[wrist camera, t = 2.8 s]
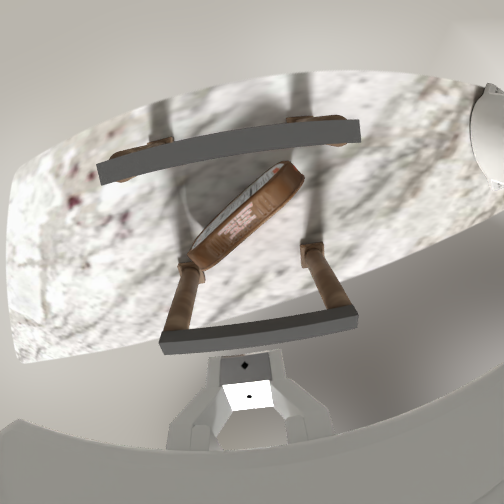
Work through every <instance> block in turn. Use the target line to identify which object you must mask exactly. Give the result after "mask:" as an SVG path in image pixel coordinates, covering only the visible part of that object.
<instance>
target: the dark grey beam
mask: <svg viewBox="0 0 504 504" xmlns="http://www.w3.org/2000/svg"><path fill="white" fill-rule="evenodd" d="M358 316H359V315H358V313H357V311H356V309H355V308H354V306H353V305H347V306H343V307H338V308H332V309H327V310H322V311H317V312H312V313H306V314H300V315H294V316H288V317H282V318H276V319H269V320H262V321H256V322H248V323H240V324H232V325H224V326H216V327H206V328H197V329H186V330H175V331H163V332H162V333H161V337H160V340H159V345H160V347H161V349H162V351H163V353H164V355H172V354H186V353H187V354H188V353H200V352H211V351H221V350H231V349H239V348H248V347H255V346H263V345H270V344H277V343H283V342H289V341H295V340H301V339H307V338H312V337H317V336H322V335H327V334H332V333H337V332H342V331H346V330H351V329H355V328H357V325H358Z"/></svg>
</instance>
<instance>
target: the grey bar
mask: <svg viewBox="0 0 504 504" xmlns="http://www.w3.org/2000/svg"><path fill="white" fill-rule="evenodd" d="M340 143H361V134H360V124H359V120H325V121H308V122H295V123H285V124H275V125H266V126H258V127H251V128H244V129H237V130H231V131H225V132H219V133H214V134H209V135H203V136H198V137H194V138H189V139H184V140H180V141H176V142H171V143H167V144H163V145H159V146H155V147H151V148H148V149H144V150H140V151H137V152H133V153H130V154H126V155H123V156H120V157H117V158H114V159H110V160H107V161H104V162H101V163H98V164H96V166H97V170H98V174H99V178H100V182H101V186H102V185H105V184H109V183H112V182H116V181H119V180H123V179H126V178H130V177H134V176H137V175H141V174H145V173H149V172H153V171H157V170H162V169H166V168H170V167H175V166H179V165H184V164H189V163H194V162H199V161H204V160H209V159H214V158H220V157H226V156H232V155H238V154H244V153H251V152H258V151H266V150H274V149H282V148H291V147H301V146H312V145H324V144H340Z"/></svg>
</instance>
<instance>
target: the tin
mask: <svg viewBox="0 0 504 504" xmlns="http://www.w3.org/2000/svg"><path fill="white" fill-rule="evenodd" d="M304 179H305V176H304V175H303V174H301V173H300V172H299V171H298V170H297V168H296V167H295V166H294V165H293V164H292V163H291V162H290V161H281V162H279V163H277V164H276V165H274V166H273V167H272V168H270V169H269V170H268V171H266V172H265V173H264V174H263V175H262V176H260V177H259V178H258V179H257V180H256V181H255V182H254V183H252V184H251V185H250V186H249V187H248V188H247V189H246V190H244V191H243V192H242V193H241V194H240V195H239V196H238V197H236V198H235V199H234V200H233V201H232V202H231V203H230V204H229V205H228V206H227V207H226V208H225V209H224V210H223V211H222V212H220V213H219V214H218V215H217V216H216V217H215V218H214V219H213V220H212V221H211V222H210V223H209V224H208V225H207V227H206V228H205V229H204V230H203V231H202V232H201V233H200V234H199V235H198V237H197V238H196V239H195V241H194V242H193V245H192V247H191V249H190V251H189V252H188V253H187V255H188V257H189V258H190V259H191V260H192V261H193V262H194V263H195V264H196V265H197V266H199V267H200V269H201V270H202V271H206V270H208V269H210V268H212V267H213V266H215V265H216V264H217V263H219V262H220V261H221V260H222V259H223V258H224V257H226V256H227V255H228V254H229V253H230V252H231V251H232V250H234V249H235V248H236V247H237V246H238V245H239V244H240V243H242V242H243V241H244V240H245V239H246V238H247V237H248V236H250V235H251V234H252V233H253V232H254V231H255V230H257V229H258V228H259V227H260V226H261V225H262V224H264V223H265V222H266V221H267V220H268V219H269V218H271V217H272V216H273V215H274V214H275V213H276V212H278V211H279V210H280V209H281V208H282V207H283V206H284V205H285V204H286V203H287V202H288V201H289V200H290V199H291V198H292V197H293V196H294V195H295V194H296V192H297V191H298V190H299V189H300V187H301V186H302V184H303V182H304Z"/></svg>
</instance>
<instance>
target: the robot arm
mask: <svg viewBox="0 0 504 504" xmlns="http://www.w3.org/2000/svg"><path fill="white" fill-rule="evenodd" d="M471 142H472V148H473V152H474V156H475V158H476V161H477V163H478V165H479V167H480V169H481V170H482V171H483V173H484V174H485V175H486V177H487V181H488V184H489V187H490V189H491V190H494V191H497V190H499V189H501V188H504V92H503V91H502V90H500V89H499V88H498V87H496V86H495V85H493V84H490V83H488V84H487V85H486V87H485V90H484V94H483V95H482V96H481V97H480V98H479V99H478V101H477V102H476V104H475V106H474V109H473V112H472V117H471ZM266 406H273V407H274V408H275V409H276V410H277V411H278V413H279V414H280V415H281V416H282V417H283V418H284V419H285V425H286V432H287V442H288V444H286V445H279V446H271V447H263V448H254V449H241V450H224V449H223V448H222V446H221V445H220V443H219V442H218V440H217V438H216V437H217V435H218V434H219V432H220V431H221V429H222V427H223V426H224V425H225V423H226V421H227V420H228V418H229V417H230V415H231V413H232V412H233V411H232V410H240V409H247V408H257V407H266ZM0 504H504V362H503V363H501V364H499V365H497V366H496V367H494V368H493V369H491V370H490V371H488V372H486V373H485V374H483V375H482V376H480V377H478V378H476V379H475V380H473V381H471V382H470V383H468V384H466V385H464V386H462V387H461V388H458V389H457V390H455V391H453V392H451V393H449V394H447V395H445V396H443V397H441V398H438V399H436V400H434V401H432V402H430V403H428V404H425V405H423V406H421V407H418V408H416V409H414V410H411V411H409V412H406V413H404V414H401V415H398V416H396V417H393V418H390V419H387V420H384V421H381V422H378V423H375V424H372V425H369V426H366V427H362V428H359V429H356V430H352V431H348V432H345V433H341V434H337V435H335V432H334V428H333V425H332V421H331V417H330V414H329V410H328V408H327V407H325V406H324V405H323V404H321V403H320V402H319V401H318V400H316V399H315V398H314V397H313V396H311V395H310V394H309V393H308V392H307V391H305V390H304V389H303V388H302V387H300V386H299V385H298V384H297V383H296V382H294V381H293V380H292V379H291V378H286V373H285V367H284V362H283V356H282V351H281V349H275V350H269V352H268V351H262V352H255V353H248V354H242V355H231V356H221V357H210V358H209V359H208V368H207V378H206V388H202V389H201V390H200V391H199V392H198V393H197V394H196V396H195V397H194V398H193V399H192V400H191V401H190V402H189V403H188V404H187V406H186V407H185V408H184V409H183V410H182V411H181V412H180V413H179V414H178V416H177V417H176V418H175V419H174V420H173V421H172V422H171V423H170V426H169V432H168V439H167V445H166V450H162V449H151V448H141V447H132V446H125V445H118V444H112V443H107V442H101V441H96V440H92V439H87V438H82V437H78V436H74V435H70V434H67V433H63V432H60V431H56V430H53V429H50V428H46V427H43V426H40V425H37V424H34V423H32V422H29V421H26V420H23V419H18V420H16V421H14V422H12V423H11V424H9V425H8V426H6V427H5V428H4V429H2V430H1V431H0Z"/></svg>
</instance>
